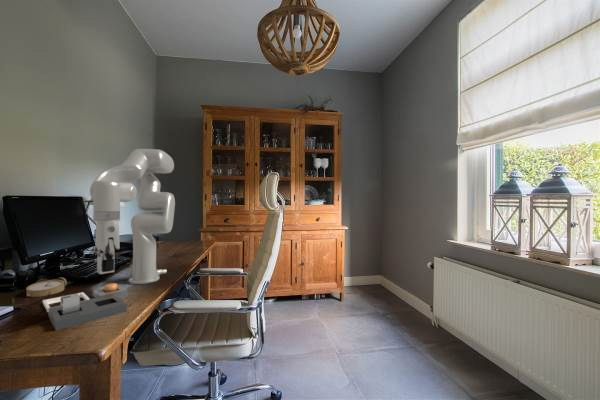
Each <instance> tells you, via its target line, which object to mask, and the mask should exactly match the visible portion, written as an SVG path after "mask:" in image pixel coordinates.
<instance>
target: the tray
mask: <svg viewBox="0 0 600 400" xmlns="http://www.w3.org/2000/svg"><path fill="white" fill-rule="evenodd" d="M77 294H78V295H79V296H80V299H81V298H82V299H84V300H83V301H85V300H89V299H90V297H89V296H88V295H87V294H86V293H85V292H84V291H82V292H78V293H77ZM56 303H61V296H58V297H53V298H48V299H42V305H43V307H44V309H45V310H46V312H47V313H49V308H53V307H54V306H53V307H51V306H50V305H53V304H56Z"/></svg>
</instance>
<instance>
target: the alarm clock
mask: <svg viewBox="0 0 600 400" xmlns="http://www.w3.org/2000/svg"><path fill="white" fill-rule="evenodd" d="M67 284H68V283H67V279H66V278H64V277H56V278H53V279H48V278H42V279H39V280H37V281H36V282H35V283H32V284H30V285H28V286H27V287H26V294H25V295H26V297H29V298H32V297H33V298H36V297H37V298H38V297H46V296H50V295H54V294H58V293H61V292H63V291H64V290H65V287H66V286H67Z"/></svg>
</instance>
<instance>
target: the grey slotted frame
mask: <svg viewBox="0 0 600 400" xmlns="http://www.w3.org/2000/svg"><path fill="white" fill-rule="evenodd" d="M127 309H128V304H127V303H126V302H125V301H124V300H122V298H118V297H117V296H116V295H115V294H112V295H107V296H103V297H98V298H94V297H93V298H89V300H85V301H84V300H80V311H78V312H74V313H70V314H66V315H62V316H61V305H57V306H53V308H52V307H50V308H49V312H48V319H49V320H50V322H51V324H52V326H53V328H54V330H55V331H59V330H64V329H67V328H71V327H74V326H78V325H82V324H85V323H86V324H87V323H89V322H93V321H96V320H101V319H105V318H108V317H111V316H115V315H118V314H122V313H126V312H127V311H128V310H127Z"/></svg>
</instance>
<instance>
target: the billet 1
mask: <svg viewBox="0 0 600 400" xmlns="http://www.w3.org/2000/svg"><path fill="white" fill-rule="evenodd" d="M60 297H61V302H60V306H61V316H62V315H66V314H70V313H74V312H78V311H80V301H81V298H80V296H79V295H78V294H77V293H72V294H67V295H61V296H60Z"/></svg>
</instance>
